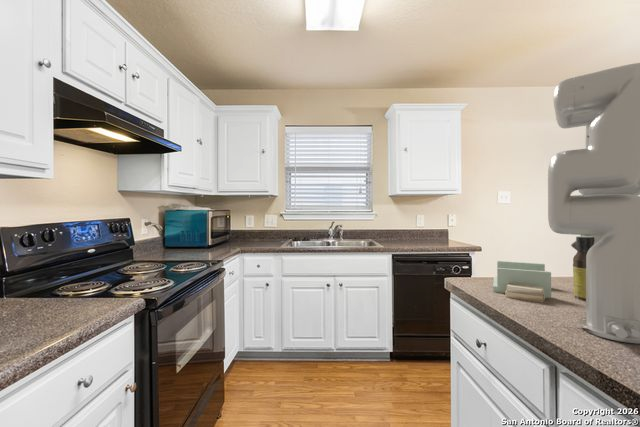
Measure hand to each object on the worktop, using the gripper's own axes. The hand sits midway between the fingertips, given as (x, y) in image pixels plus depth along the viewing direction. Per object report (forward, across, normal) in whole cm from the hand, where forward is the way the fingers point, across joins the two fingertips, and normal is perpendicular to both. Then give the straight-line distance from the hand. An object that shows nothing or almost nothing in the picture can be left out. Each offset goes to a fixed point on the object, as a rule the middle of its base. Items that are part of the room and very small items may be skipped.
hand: (602, 269), depth 95 cm
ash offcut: (+6, -22, -19) cm, 29 cm away
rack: (+8, -22, -8) cm, 25 cm away
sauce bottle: (+9, -6, -12) cm, 16 cm away
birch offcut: (+7, -22, -19) cm, 30 cm away
